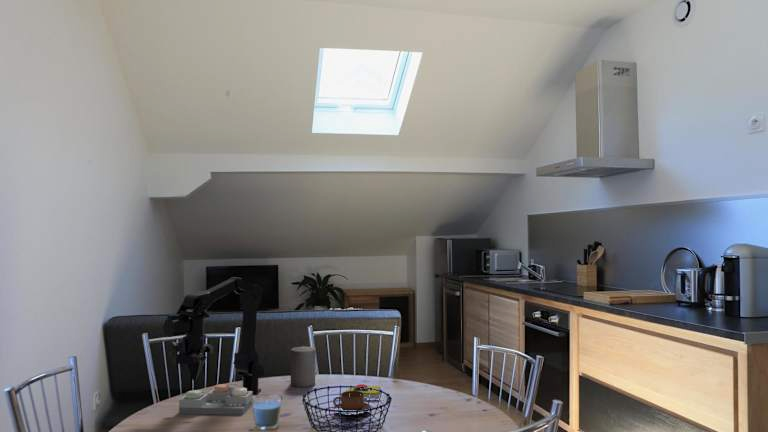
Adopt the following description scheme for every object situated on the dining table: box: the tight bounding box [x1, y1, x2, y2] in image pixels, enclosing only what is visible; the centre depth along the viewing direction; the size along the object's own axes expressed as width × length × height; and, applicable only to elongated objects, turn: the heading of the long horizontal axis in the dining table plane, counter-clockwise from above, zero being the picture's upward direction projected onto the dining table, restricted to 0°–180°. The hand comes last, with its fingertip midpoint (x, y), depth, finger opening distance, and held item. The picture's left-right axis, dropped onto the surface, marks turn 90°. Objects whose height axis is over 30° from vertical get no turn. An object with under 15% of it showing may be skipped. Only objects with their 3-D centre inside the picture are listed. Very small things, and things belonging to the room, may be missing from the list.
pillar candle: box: [289, 346, 316, 388], centre depth 216 cm, size 10×10×15 cm
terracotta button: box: [213, 383, 230, 393], centre depth 190 cm, size 5×5×2 cm
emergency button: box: [345, 383, 381, 402], centre depth 199 cm, size 9×4×15 cm
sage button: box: [185, 389, 203, 399], centre depth 183 cm, size 5×5×2 cm
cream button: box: [232, 386, 247, 396], centre depth 186 cm, size 5×5×2 cm
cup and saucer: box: [332, 390, 372, 415], centre depth 180 cm, size 12×12×6 cm
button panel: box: [178, 387, 257, 416], centre depth 186 cm, size 15×21×4 cm
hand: (194, 380), depth 183 cm, fingers closed
